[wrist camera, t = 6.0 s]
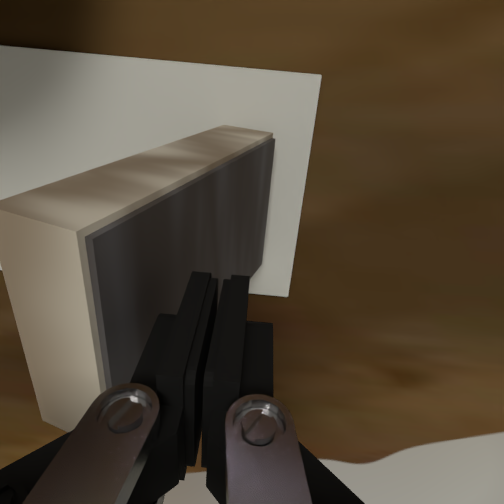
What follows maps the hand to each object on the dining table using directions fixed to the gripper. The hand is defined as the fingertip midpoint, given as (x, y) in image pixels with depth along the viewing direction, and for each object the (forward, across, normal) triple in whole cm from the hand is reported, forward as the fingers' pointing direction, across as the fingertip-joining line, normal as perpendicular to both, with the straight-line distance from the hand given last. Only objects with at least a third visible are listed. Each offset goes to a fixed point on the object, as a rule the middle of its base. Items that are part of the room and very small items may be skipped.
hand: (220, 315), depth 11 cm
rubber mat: (+10, +6, 0) cm, 12 cm away
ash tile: (+9, 0, 0) cm, 9 cm away
